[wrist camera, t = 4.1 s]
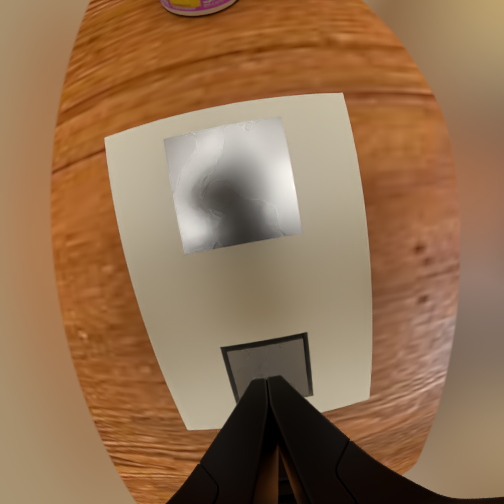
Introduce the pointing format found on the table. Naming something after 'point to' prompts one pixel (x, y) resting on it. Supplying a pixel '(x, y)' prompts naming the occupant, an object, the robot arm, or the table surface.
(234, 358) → the peg
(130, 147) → the bore block
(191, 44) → the table surface
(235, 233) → the peg
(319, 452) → the robot arm
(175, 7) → the supplement bottle
